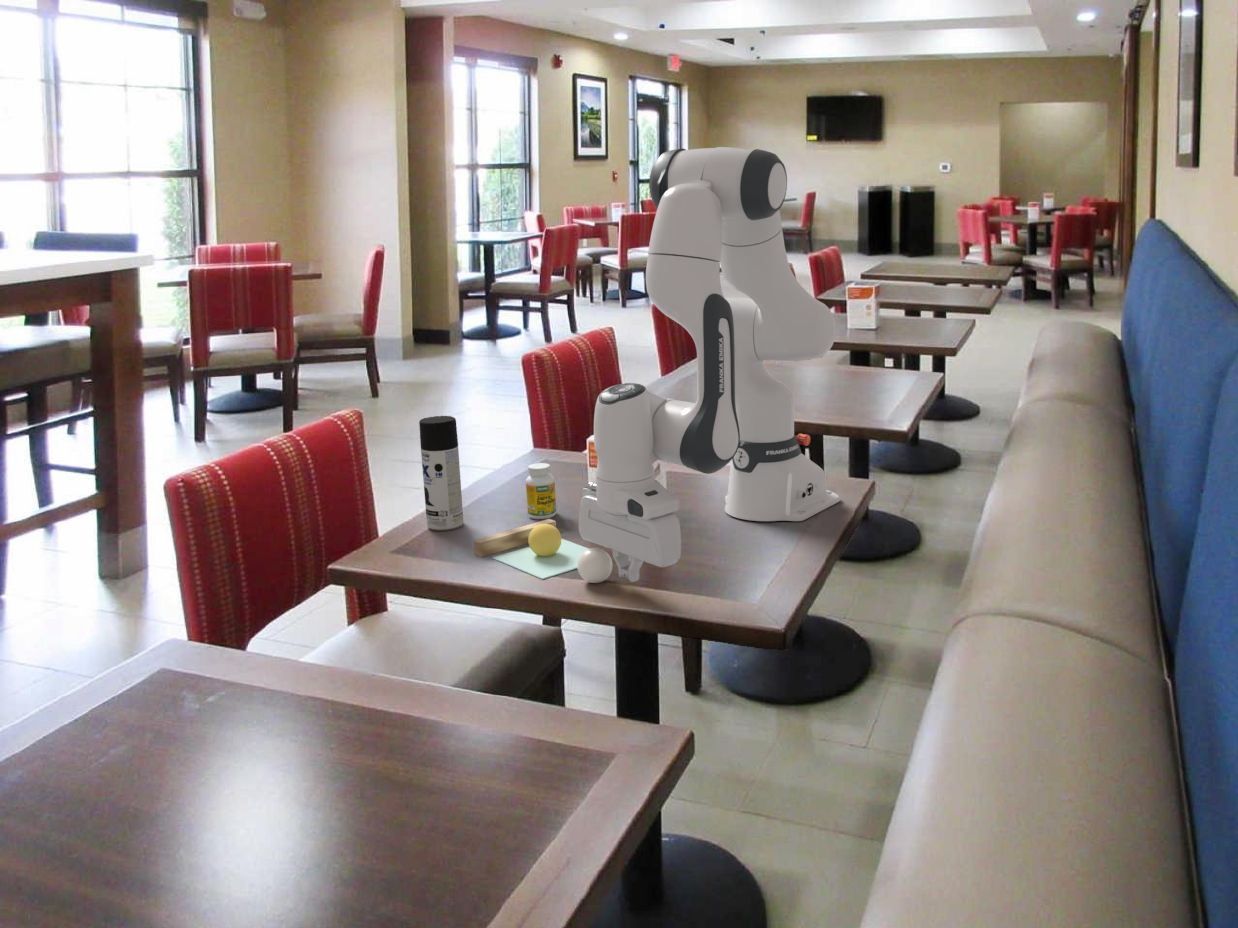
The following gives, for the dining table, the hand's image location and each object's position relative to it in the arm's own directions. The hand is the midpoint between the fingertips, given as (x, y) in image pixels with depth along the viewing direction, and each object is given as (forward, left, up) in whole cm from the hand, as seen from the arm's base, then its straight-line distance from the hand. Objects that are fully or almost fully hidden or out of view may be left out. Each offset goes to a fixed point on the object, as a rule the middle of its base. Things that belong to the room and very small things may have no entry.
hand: (629, 579), depth 179 cm
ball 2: (+2, -6, +1) cm, 6 cm away
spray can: (+3, -48, -2) cm, 48 cm away
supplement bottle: (-13, -40, -2) cm, 42 cm away
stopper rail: (0, -30, -2) cm, 30 cm away
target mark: (0, -20, -2) cm, 20 cm away
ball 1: (0, -22, +1) cm, 22 cm away
